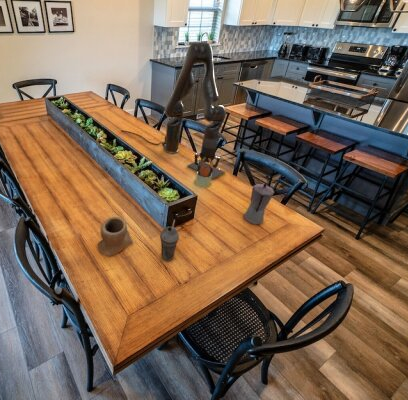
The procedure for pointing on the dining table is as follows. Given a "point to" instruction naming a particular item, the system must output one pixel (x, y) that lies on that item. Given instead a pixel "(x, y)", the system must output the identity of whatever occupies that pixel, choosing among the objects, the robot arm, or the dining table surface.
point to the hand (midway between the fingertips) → (204, 172)
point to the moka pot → (258, 203)
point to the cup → (203, 179)
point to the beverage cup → (169, 242)
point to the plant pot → (204, 169)
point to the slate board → (215, 172)
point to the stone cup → (114, 236)
